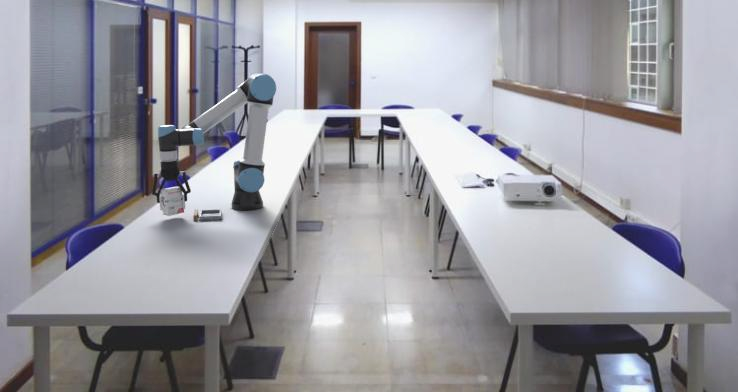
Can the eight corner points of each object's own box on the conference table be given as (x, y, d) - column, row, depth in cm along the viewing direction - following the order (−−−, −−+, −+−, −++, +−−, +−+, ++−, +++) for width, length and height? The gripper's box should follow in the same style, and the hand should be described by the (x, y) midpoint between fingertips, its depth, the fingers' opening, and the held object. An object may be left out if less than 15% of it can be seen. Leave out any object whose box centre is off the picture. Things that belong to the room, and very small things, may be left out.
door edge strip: (198, 214, 328) (198, 209, 328) (197, 220, 317) (196, 215, 316) (195, 214, 328) (194, 209, 328) (193, 220, 317) (193, 215, 316)
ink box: (177, 211, 326) (175, 185, 324) (184, 212, 323) (182, 186, 320) (161, 214, 319) (159, 188, 317) (168, 216, 316) (166, 190, 314)
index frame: (221, 213, 331) (221, 209, 331) (221, 219, 318) (221, 215, 318) (200, 214, 329) (200, 210, 329) (199, 221, 316) (199, 216, 316)
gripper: (194, 157, 322) (198, 205, 326) (144, 160, 318) (148, 208, 322) (194, 160, 315) (197, 209, 319) (142, 162, 311) (146, 212, 315)
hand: (173, 209), depth 321 cm, fingers closed on ink box, 9 cm apart
